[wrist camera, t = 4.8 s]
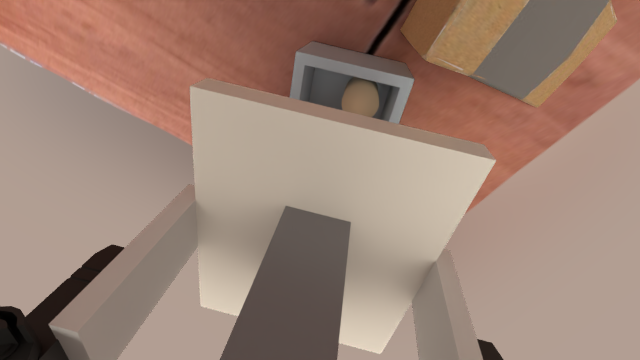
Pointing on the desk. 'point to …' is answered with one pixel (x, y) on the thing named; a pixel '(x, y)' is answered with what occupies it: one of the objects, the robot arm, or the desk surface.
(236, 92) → the lid
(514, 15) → the sandwich container
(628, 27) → the desk surface
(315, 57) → the box
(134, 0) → the desk surface
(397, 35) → the desk surface
